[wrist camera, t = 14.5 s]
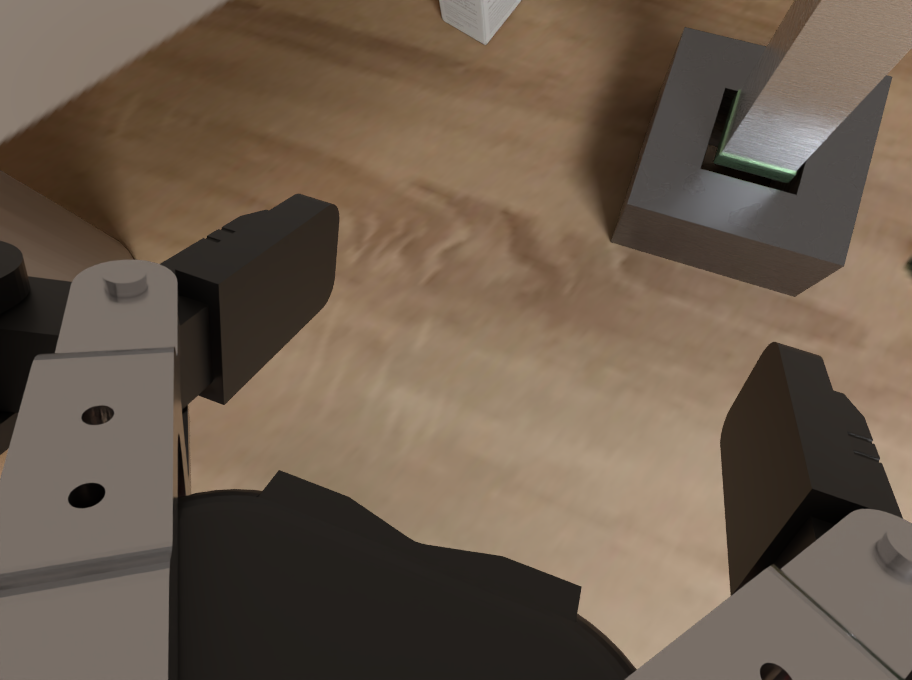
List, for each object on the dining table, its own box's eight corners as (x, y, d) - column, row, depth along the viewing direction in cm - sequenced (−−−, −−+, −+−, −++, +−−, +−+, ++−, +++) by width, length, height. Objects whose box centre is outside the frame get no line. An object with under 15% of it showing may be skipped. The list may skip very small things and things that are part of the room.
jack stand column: (705, 167, 36) (872, -96, 19) (727, 96, 37) (906, -216, 20) (790, 190, 35) (1039, -62, 19) (810, 117, 36) (1067, -188, 19)
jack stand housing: (610, 242, 41) (628, 200, 35) (661, 87, 43) (687, 21, 37) (794, 296, 40) (848, 262, 33) (838, 132, 42) (897, 71, 35)
